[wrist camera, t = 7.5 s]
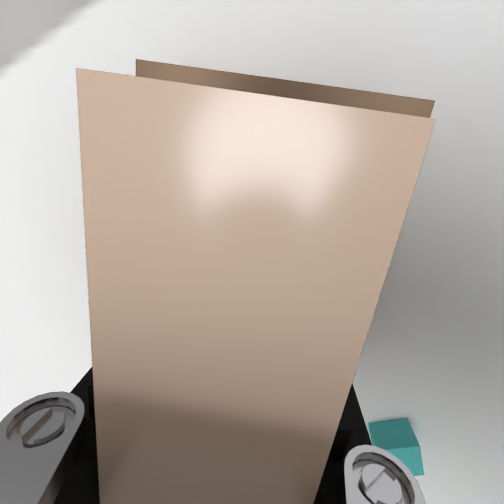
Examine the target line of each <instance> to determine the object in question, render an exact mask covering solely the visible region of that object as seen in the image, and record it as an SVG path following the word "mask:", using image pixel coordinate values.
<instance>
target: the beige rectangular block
mask: <svg viewBox="0 0 504 504" xmlns="http://www.w3.org/2000/svg"><path fill="white" fill-rule="evenodd" d="M76 78H77V96H78V114H79V132H80V150H81V169H82V187H83V205H84V223H85V241H86V259H87V278H88V296H89V314H90V332H91V350H92V368H93V387H94V405H95V423H96V441H97V459H98V477H99V496H100V504H313V503H314V500H315V497H316V494H317V491H318V487H319V484H320V481H321V478H322V475H323V472H324V469H325V466H326V462H327V459H328V456H329V453H330V450H331V447H332V444H333V441H334V437H335V434H336V431H337V428H338V425H339V422H340V419H341V416H342V412H343V409H344V406H345V403H346V400H347V397H348V394H349V391H350V387H351V384H352V381H353V378H354V375H355V372H356V369H357V366H358V362H359V359H360V356H361V353H362V350H363V347H364V344H365V341H366V338H367V334H368V331H369V328H370V325H371V322H372V319H373V316H374V313H375V309H376V306H377V303H378V300H379V297H380V294H381V291H382V288H383V284H384V281H385V278H386V275H387V272H388V269H389V266H390V263H391V259H392V256H393V253H394V250H395V247H396V244H397V241H398V238H399V234H400V231H401V228H402V225H403V222H404V219H405V216H406V213H407V209H408V206H409V203H410V200H411V197H412V194H413V191H414V188H415V184H416V181H417V178H418V175H419V172H420V169H421V166H422V163H423V159H424V156H425V153H426V150H427V147H428V144H429V141H430V138H431V134H432V131H433V128H434V125H435V122H436V119H433V118H426V117H419V116H412V115H405V114H397V113H390V112H383V111H376V110H369V109H362V108H355V107H348V106H341V105H334V104H327V103H320V102H313V101H306V100H299V99H292V98H285V97H278V96H271V95H264V94H257V93H250V92H243V91H236V90H229V89H222V88H215V87H207V86H200V85H193V84H186V83H179V82H172V81H165V80H158V79H151V78H144V77H137V76H130V75H123V74H116V73H109V72H102V71H95V70H88V69H81V68H76Z"/></svg>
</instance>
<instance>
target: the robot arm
mask: <svg viewBox="0 0 504 504" xmlns="http://www.w3.org/2000/svg"><path fill="white" fill-rule="evenodd" d="M0 504H100V496H99V477H98V459H97V441H96V423H95V405H94V387H93V368H92V367H91V369H90V370H89V371H88V372H87V373H86V374H85V376H84V377H83V378H82V379H81V380H80V382H79V383H78V384H77V385H76V386H75V388H74V389H73V390H72V391H71V392H70V393H67V392H50V393H46V394H42V395H38V396H36V397H34V398H31V399H29V400H27V401H25V402H23V403H22V404H20V405H19V406H17V407H16V408H14V409H13V410H12V411H11V412H10V413H9V414H8V415H7V416H6V417H5V418H4V419H3V420H2V421H1V422H0ZM313 504H426V503H425V500H424V496H423V493H422V491H421V489H420V486H419V484H418V482H417V480H416V478H415V477H414V476H413V474H412V473H411V471H410V470H409V469H408V468H407V467H406V466H405V465H404V464H403V463H402V462H401V461H400V460H399V459H398V458H397V457H395V456H394V455H392V454H391V453H389V452H388V451H386V450H384V449H381V448H379V447H377V446H372V444H371V441H370V438H369V434H368V431H367V428H366V425H365V422H364V419H363V416H362V412H361V409H360V406H359V403H358V400H357V397H356V394H355V390H354V387H353V384H351V387H350V391H349V394H348V397H347V400H346V403H345V406H344V409H343V412H342V416H341V419H340V422H339V425H338V428H337V431H336V434H335V437H334V441H333V444H332V447H331V450H330V453H329V456H328V459H327V462H326V466H325V469H324V472H323V475H322V478H321V481H320V484H319V487H318V491H317V494H316V497H315V500H314V503H313Z"/></svg>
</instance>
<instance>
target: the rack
mask: <svg viewBox="0 0 504 504" xmlns="http://www.w3.org/2000/svg"><path fill="white" fill-rule="evenodd" d="M136 76H137V77H144V78H151V79H158V80H165V81H172V82H179V83H186V84H193V85H200V86H207V87H215V88H222V89H229V90H236V91H243V92H250V93H257V94H264V95H271V96H278V97H285V98H292V99H299V100H306V101H313V102H320V103H327V104H334V105H341V106H348V107H355V108H362V109H369V110H376V111H383V112H390V113H397V114H405V115H412V116H419V117H426V118H430V115H431V112H432V109H433V106H434V103H435V101H433V100H426V99H419V98H412V97H405V96H397V95H390V94H383V93H376V92H369V91H361V90H354V89H347V88H340V87H333V86H325V85H318V84H311V83H304V82H297V81H289V80H282V79H275V78H268V77H260V76H253V75H246V74H239V73H232V72H224V71H217V70H210V69H203V68H196V67H188V66H181V65H174V64H167V63H160V62H152V61H145V60H138V59H136Z"/></svg>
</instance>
